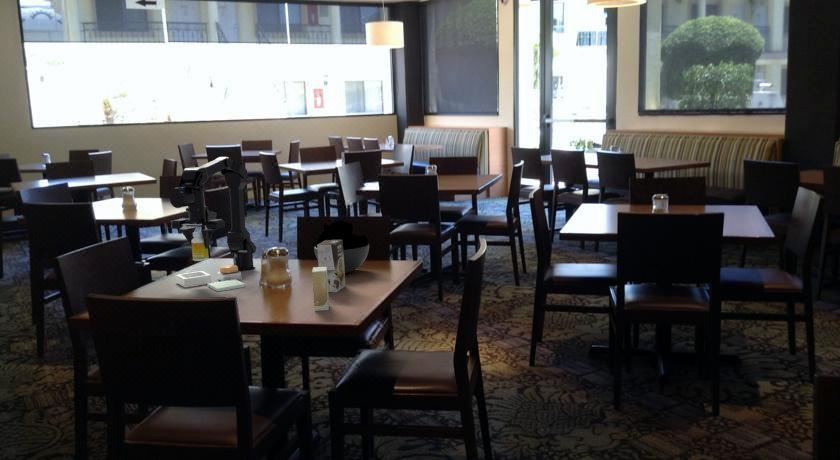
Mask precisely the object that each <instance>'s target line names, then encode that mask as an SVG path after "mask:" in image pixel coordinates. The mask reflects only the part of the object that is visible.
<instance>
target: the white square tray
mask: <svg viewBox="0 0 840 460" xmlns="http://www.w3.org/2000/svg"><path fill="white" fill-rule="evenodd" d="M175 278H176V284H178V285H180V286H181V287H183V288H190V287H197V286H203V285H208V284H209V283H213V282H212V275H211V274H210V273H208V272H206V271H203V270H199V271H192V272H186V273H180V274H176V275H175Z"/></svg>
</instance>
